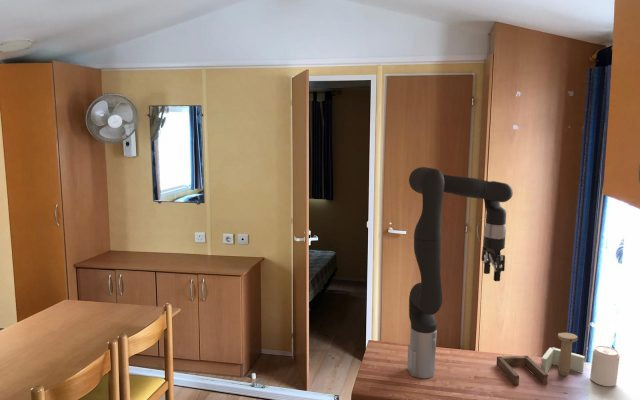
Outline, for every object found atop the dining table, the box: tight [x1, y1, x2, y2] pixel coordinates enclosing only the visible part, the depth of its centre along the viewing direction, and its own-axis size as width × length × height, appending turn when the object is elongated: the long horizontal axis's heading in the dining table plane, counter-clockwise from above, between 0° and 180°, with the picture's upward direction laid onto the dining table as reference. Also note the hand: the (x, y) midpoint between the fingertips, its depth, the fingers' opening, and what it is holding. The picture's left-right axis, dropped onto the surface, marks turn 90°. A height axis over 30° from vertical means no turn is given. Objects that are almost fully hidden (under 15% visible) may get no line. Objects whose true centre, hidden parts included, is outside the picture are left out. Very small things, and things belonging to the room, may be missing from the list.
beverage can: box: [589, 345, 621, 387], centre depth 172 cm, size 8×8×12 cm
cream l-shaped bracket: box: [540, 346, 586, 374], centre depth 182 cm, size 17×9×6 cm, turn 95°
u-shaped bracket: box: [496, 355, 549, 386], centre depth 177 cm, size 12×14×4 cm
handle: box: [557, 332, 578, 377], centre depth 177 cm, size 5×6×15 cm
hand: (491, 277), depth 183 cm, fingers open, 8 cm apart
